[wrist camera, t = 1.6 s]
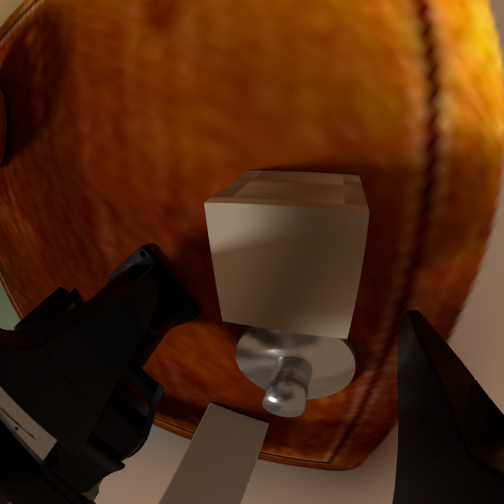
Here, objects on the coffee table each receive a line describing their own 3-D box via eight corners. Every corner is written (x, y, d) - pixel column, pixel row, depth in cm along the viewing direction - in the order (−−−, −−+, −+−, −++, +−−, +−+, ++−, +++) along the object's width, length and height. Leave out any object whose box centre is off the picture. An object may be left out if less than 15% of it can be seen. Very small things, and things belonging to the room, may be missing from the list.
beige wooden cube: (253, 264, 16) (222, 321, 12) (247, 170, 14) (204, 202, 10) (349, 274, 15) (347, 339, 11) (359, 175, 12) (369, 212, 8)
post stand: (279, 396, 23) (266, 436, 19) (217, 334, 21) (192, 378, 17) (372, 375, 18) (370, 425, 15) (320, 296, 16) (310, 352, 12)
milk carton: (270, 421, 26) (212, 565, 11) (256, 438, 30) (208, 555, 15) (210, 400, 27) (139, 538, 12) (206, 420, 31) (149, 533, 16)
